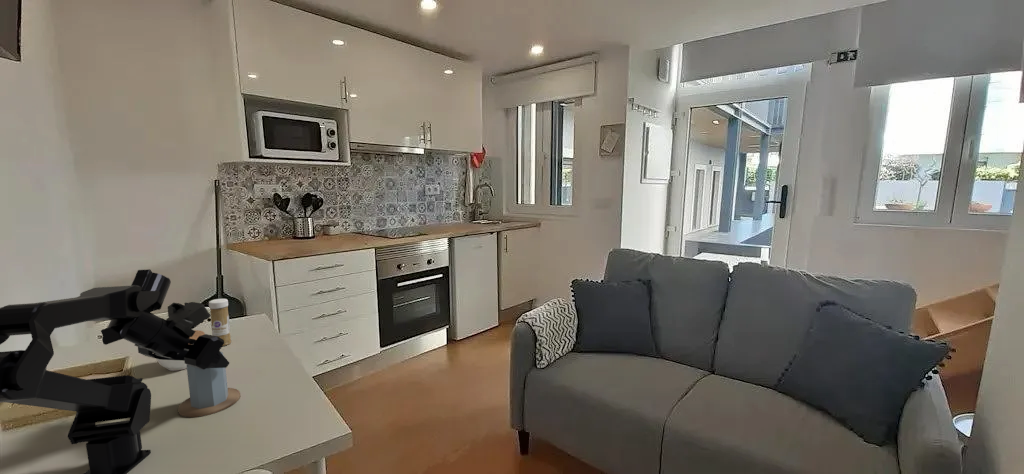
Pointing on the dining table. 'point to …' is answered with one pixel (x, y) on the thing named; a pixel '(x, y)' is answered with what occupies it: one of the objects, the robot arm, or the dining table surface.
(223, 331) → the sprinkles bottle
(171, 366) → the lidded jar
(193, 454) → the dining table surface
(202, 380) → the blue dome cap nut
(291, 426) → the dining table surface
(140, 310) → the robot arm
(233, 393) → the brown pegged disc
